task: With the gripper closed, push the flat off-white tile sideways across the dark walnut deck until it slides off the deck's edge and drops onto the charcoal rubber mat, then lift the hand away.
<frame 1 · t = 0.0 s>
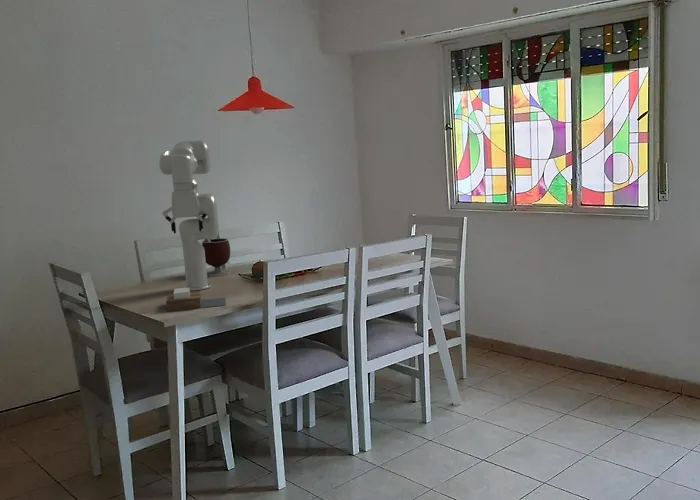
hand: (187, 232, 264), 31 cm above the table, tool pointing down, fingers open, 9 cm apart
mate gourd: (216, 274, 345), on the table
tile: (182, 296, 277), point 4 cm above the table, touching deck
mat: (213, 302, 280), on the table
deck: (184, 305, 278), on the table
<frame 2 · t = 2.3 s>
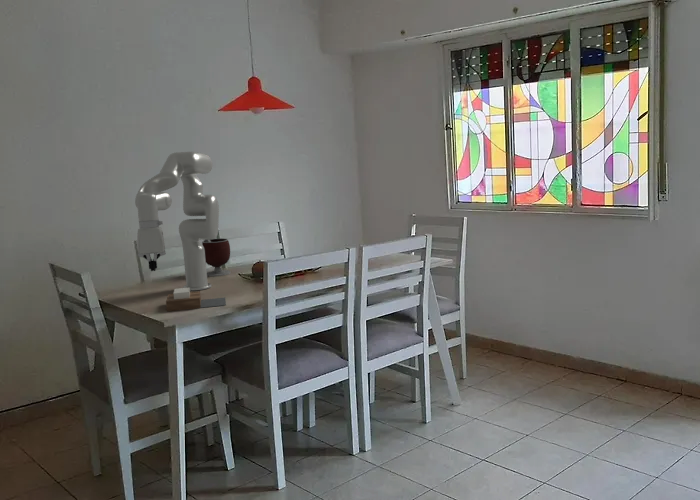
hand: (153, 270, 273), 16 cm above the table, tool pointing down, fingers closed
nothing on the table moved.
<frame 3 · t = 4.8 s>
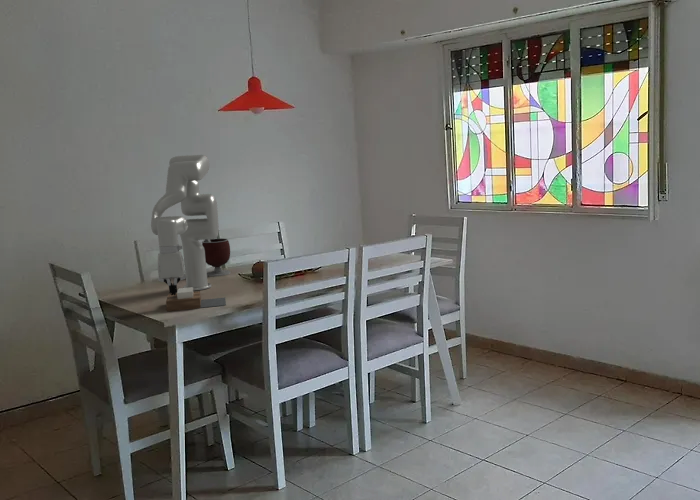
hand: (173, 294, 276), 5 cm above the table, tool pointing down, fingers closed
tile: (185, 296, 277), point 4 cm above the table, touching deck, gripper
everything else where it was.
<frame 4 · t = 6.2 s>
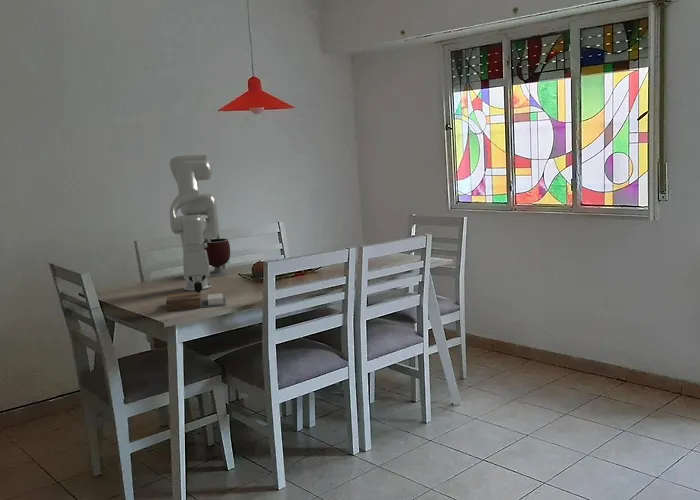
hand: (198, 292, 278), 5 cm above the table, tool pointing down, fingers closed
tile: (215, 296, 279), point 3 cm above the table, tilted 180°, touching mat
everything else where it was.
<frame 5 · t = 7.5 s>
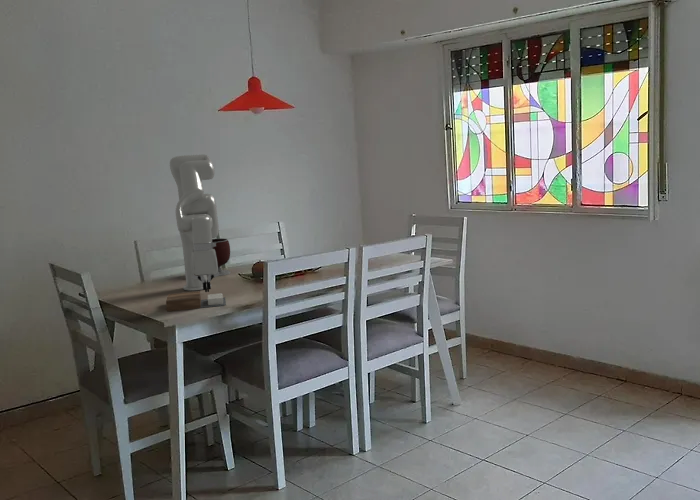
hand: (207, 291, 279), 5 cm above the table, tool pointing down, fingers closed
nothing on the table moved.
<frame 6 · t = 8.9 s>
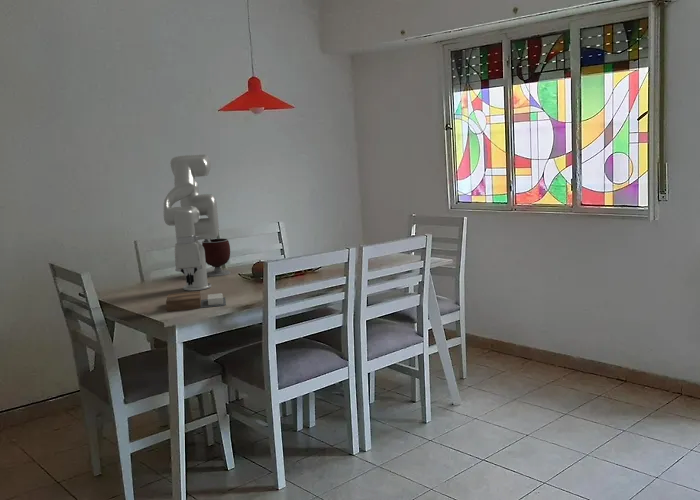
hand: (190, 284, 278), 8 cm above the table, tool pointing down, fingers closed
nothing on the table moved.
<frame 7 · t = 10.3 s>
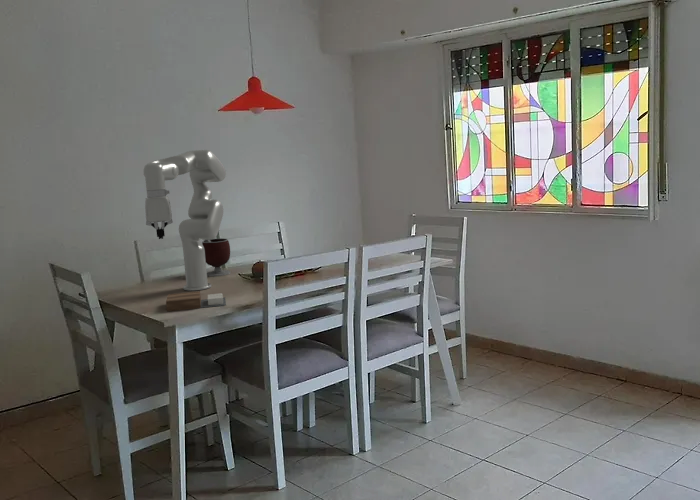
hand: (161, 238, 282), 27 cm above the table, tool pointing down, fingers closed
nothing on the table moved.
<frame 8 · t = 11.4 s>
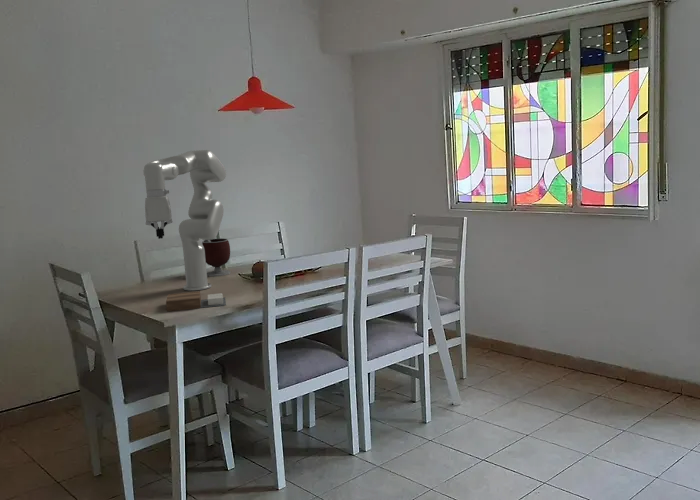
hand: (160, 238, 282), 27 cm above the table, tool pointing down, fingers closed
nothing on the table moved.
at the end: tile inside the target area (0.5 cm from its centre), point 2.8 cm above the table; tile point 2.8 cm above the table; the gripper is holding nothing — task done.
